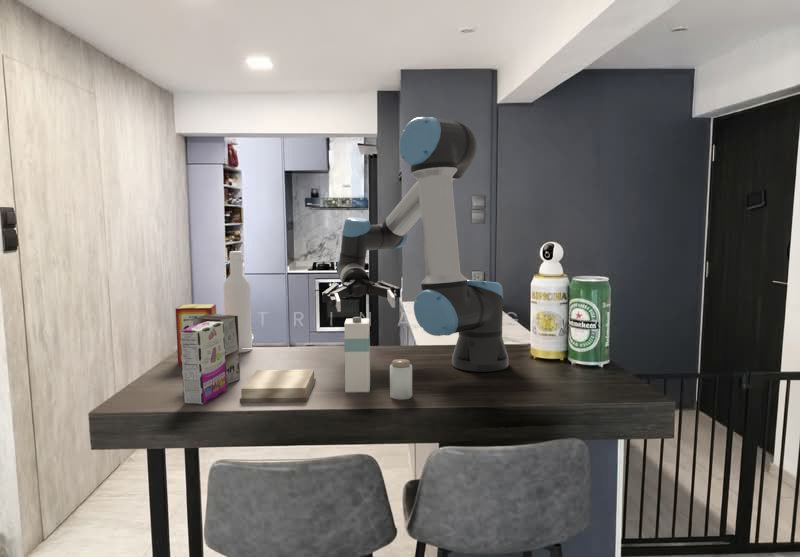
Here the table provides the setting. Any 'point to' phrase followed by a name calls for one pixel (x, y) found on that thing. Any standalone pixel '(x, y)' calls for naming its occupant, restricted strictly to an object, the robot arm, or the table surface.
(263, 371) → the podium
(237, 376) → the coffee box
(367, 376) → the carton
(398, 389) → the ceramic jar
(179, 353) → the baking soda box
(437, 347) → the table surface
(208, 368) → the candy bar box
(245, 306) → the bottle
